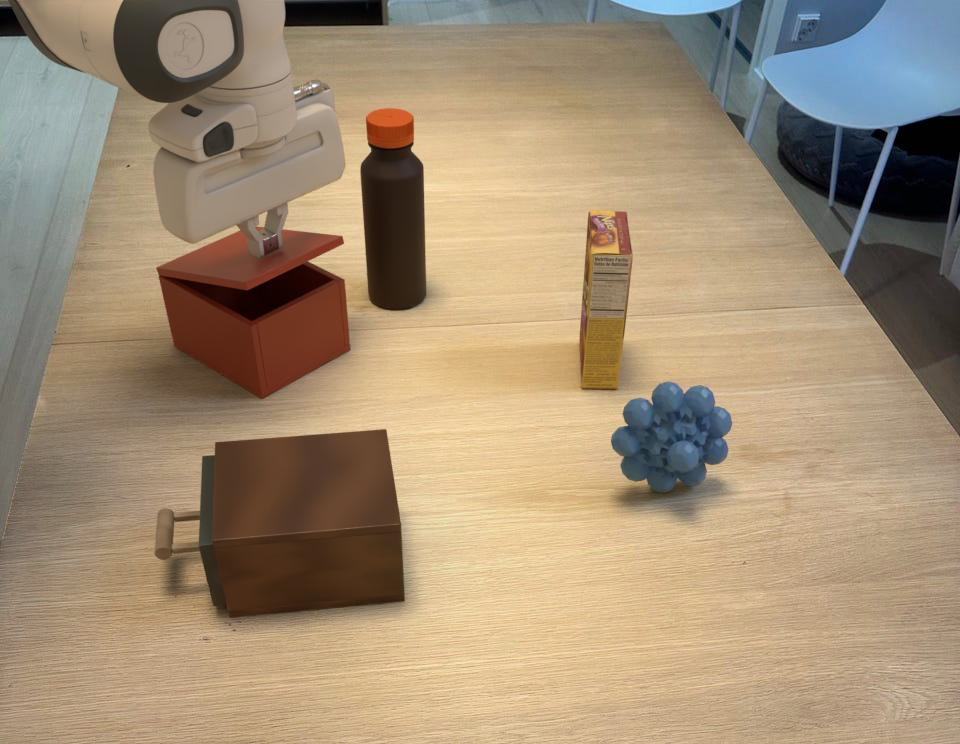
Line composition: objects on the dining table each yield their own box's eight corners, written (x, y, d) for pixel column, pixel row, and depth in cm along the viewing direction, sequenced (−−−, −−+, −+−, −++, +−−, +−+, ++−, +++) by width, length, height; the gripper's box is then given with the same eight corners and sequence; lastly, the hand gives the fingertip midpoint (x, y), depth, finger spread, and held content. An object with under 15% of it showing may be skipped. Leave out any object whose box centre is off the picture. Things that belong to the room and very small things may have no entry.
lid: (344, 243, 106) (342, 235, 106) (247, 290, 99) (244, 282, 99) (252, 233, 115) (250, 225, 115) (158, 275, 109) (155, 267, 108)
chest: (350, 349, 115) (344, 279, 109) (262, 399, 109) (250, 327, 103) (262, 302, 122) (252, 233, 116) (173, 346, 115) (158, 275, 109)
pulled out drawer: (161, 611, 87) (143, 550, 82) (167, 520, 94) (151, 459, 89) (376, 591, 89) (371, 530, 84) (365, 504, 96) (360, 443, 91)
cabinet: (229, 617, 88) (212, 540, 81) (230, 518, 96) (214, 441, 90) (405, 601, 89) (401, 524, 83) (390, 505, 98) (386, 428, 91)
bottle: (372, 313, 120) (361, 132, 106) (364, 283, 125) (352, 106, 110) (431, 307, 121) (428, 128, 107) (421, 278, 126) (416, 102, 111)
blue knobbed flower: (618, 528, 96) (635, 419, 87) (595, 482, 100) (609, 373, 92) (737, 510, 98) (765, 401, 89) (710, 466, 102) (734, 358, 94)
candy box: (575, 343, 117) (588, 208, 106) (614, 344, 117) (631, 209, 106) (577, 389, 111) (590, 251, 100) (618, 391, 111) (636, 253, 100)
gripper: (307, 65, 101) (321, 206, 112) (131, 128, 91) (164, 277, 101) (353, 82, 99) (363, 225, 109) (177, 149, 88) (206, 301, 98)
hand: (266, 251), depth 105 cm, fingers closed
